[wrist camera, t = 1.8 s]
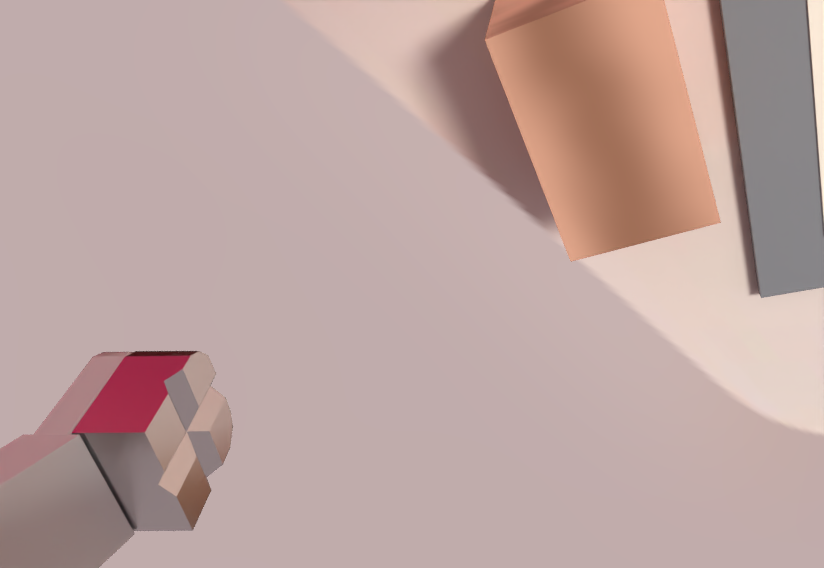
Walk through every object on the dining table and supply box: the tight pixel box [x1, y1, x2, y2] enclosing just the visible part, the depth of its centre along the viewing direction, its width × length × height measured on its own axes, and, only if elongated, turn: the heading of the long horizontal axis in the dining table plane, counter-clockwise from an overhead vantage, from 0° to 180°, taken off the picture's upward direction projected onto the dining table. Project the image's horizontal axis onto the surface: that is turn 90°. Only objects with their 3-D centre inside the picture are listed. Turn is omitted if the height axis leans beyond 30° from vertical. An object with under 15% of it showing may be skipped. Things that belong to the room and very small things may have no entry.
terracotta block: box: [485, 0, 721, 261], centre depth 30 cm, size 6×10×6 cm, turn 25°
